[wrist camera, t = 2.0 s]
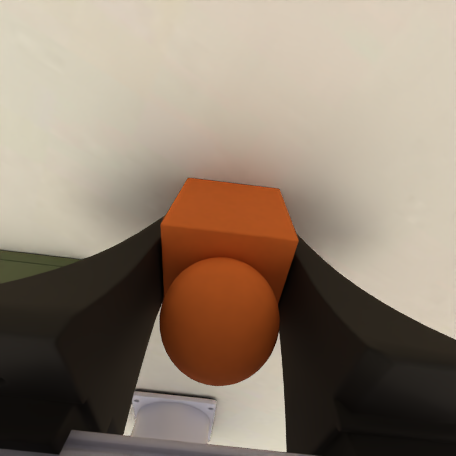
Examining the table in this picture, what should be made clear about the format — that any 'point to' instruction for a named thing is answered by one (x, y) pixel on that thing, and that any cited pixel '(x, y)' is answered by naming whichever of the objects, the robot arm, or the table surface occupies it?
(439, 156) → the table surface
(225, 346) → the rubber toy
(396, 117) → the table surface
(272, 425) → the table surface
